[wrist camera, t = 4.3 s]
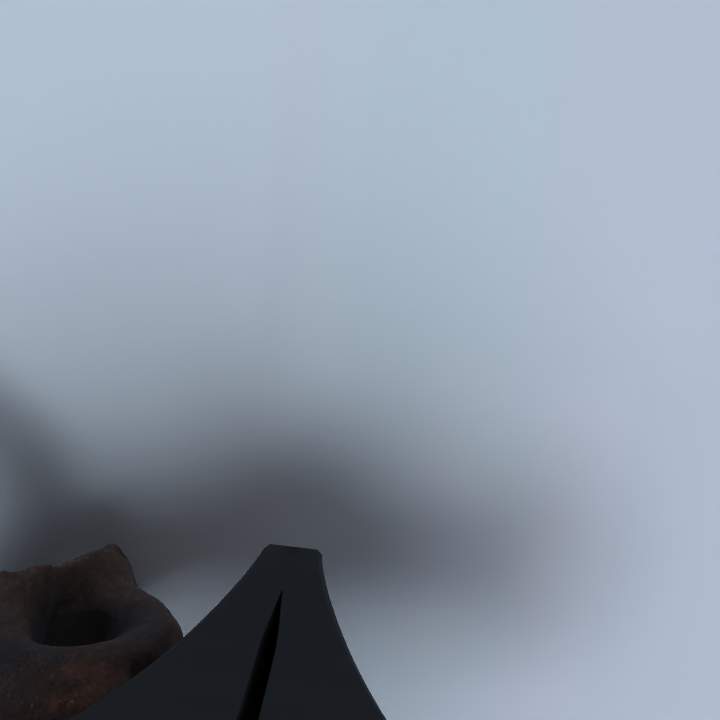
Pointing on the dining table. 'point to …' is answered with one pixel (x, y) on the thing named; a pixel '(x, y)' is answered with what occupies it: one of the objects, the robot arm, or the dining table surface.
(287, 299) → the dining table surface
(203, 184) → the dining table surface
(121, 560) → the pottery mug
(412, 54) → the dining table surface
